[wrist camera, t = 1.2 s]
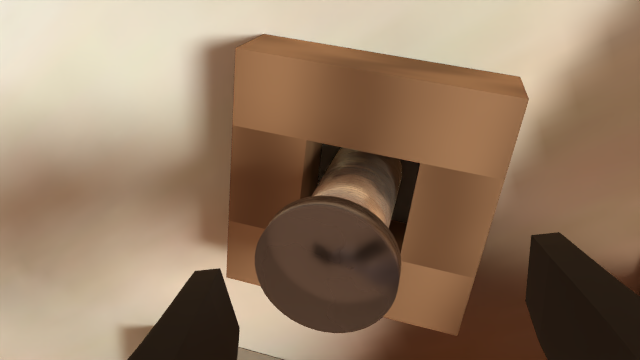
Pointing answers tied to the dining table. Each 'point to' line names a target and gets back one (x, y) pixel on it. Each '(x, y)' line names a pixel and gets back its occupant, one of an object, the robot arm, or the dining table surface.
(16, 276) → the dining table surface
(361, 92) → the brown square frame
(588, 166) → the dining table surface
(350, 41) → the dining table surface
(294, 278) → the pin
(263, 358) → the tray
